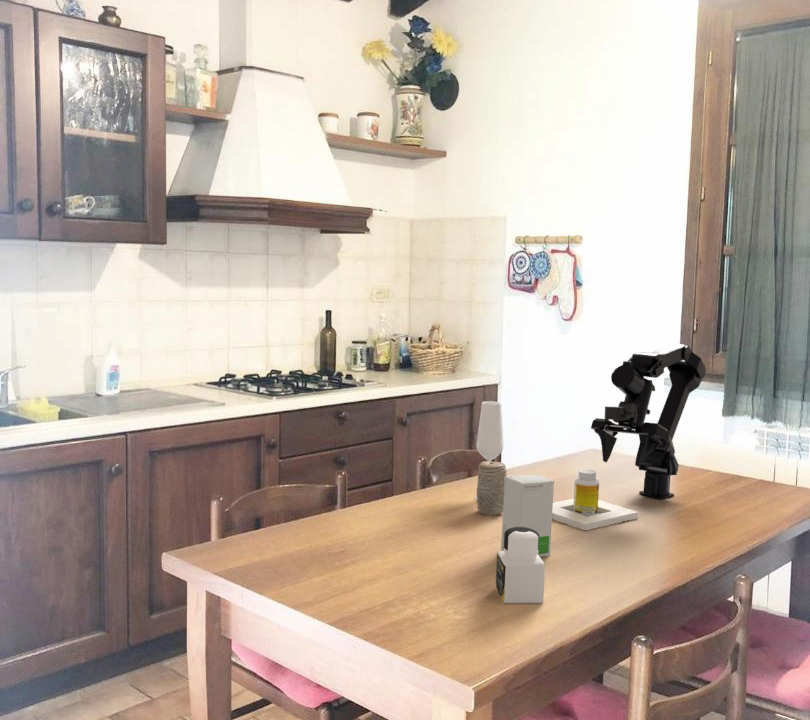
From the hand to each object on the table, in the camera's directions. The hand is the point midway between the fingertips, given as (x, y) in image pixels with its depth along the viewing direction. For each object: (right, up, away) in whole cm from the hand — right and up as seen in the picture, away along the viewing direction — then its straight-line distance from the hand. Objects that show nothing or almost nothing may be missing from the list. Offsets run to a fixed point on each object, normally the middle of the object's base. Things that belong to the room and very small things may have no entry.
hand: (620, 463), depth 208 cm
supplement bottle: (-9, -12, -2) cm, 15 cm away
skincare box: (-27, -15, -30) cm, 43 cm away
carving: (-31, -11, -3) cm, 33 cm away
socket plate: (-9, -12, -3) cm, 15 cm away
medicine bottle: (-31, -17, -53) cm, 64 cm away
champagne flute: (-30, -10, +10) cm, 34 cm away
